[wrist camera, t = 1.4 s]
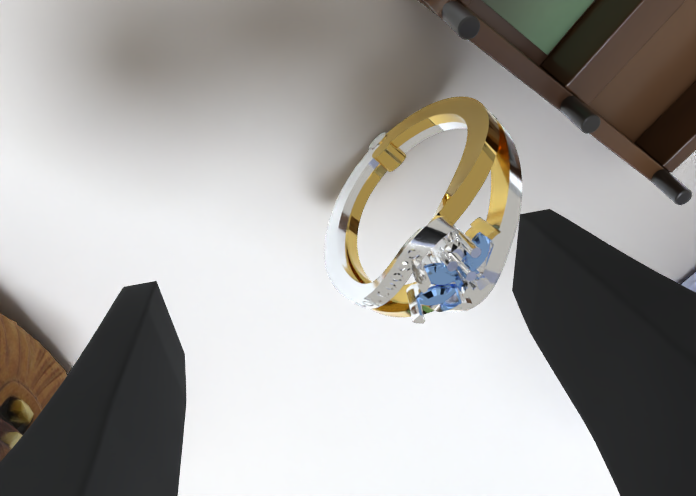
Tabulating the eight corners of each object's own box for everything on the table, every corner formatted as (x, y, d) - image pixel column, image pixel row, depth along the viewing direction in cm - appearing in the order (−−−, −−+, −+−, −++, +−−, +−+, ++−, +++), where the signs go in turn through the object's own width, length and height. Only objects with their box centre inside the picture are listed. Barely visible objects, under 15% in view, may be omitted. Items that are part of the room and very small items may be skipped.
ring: (429, 41, 19) (532, 163, 13) (485, 103, 21) (600, 237, 15) (284, 185, 22) (313, 347, 15) (345, 230, 23) (394, 392, 17)
